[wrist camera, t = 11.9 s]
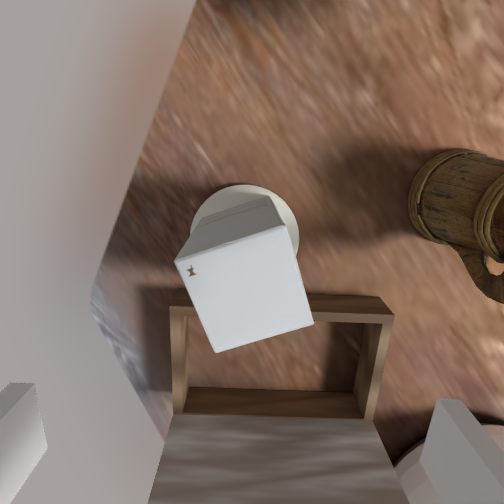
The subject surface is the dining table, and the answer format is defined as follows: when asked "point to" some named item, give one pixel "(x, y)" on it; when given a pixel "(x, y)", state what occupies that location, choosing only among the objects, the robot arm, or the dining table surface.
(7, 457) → the robot arm
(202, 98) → the dining table surface
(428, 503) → the pot
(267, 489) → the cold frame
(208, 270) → the supplement box
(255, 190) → the saucer
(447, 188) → the wooden mug
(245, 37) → the dining table surface
